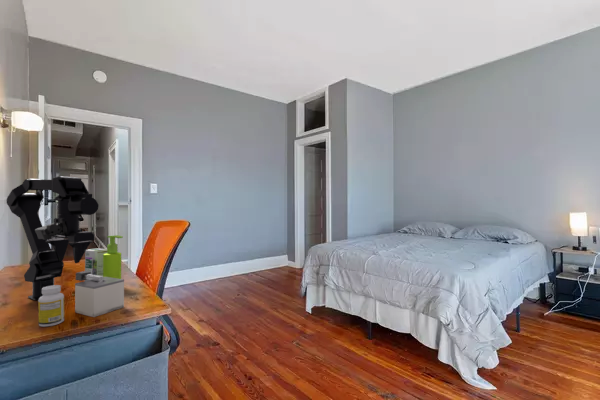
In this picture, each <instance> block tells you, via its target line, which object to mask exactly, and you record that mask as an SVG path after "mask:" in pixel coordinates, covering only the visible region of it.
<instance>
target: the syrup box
mask: <svg viewBox="0 0 600 400" xmlns="http://www.w3.org/2000/svg"><path fill="white" fill-rule="evenodd" d="M106 253H107V248H90V249H88V248H87V249H86V251H85V253H84V255H85V256H84V271H88V272H91V274H92V275H98V276H103V254H106ZM84 281H88V280H84Z"/></svg>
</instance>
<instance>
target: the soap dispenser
mask: <svg viewBox="0 0 600 400" xmlns="http://www.w3.org/2000/svg"><path fill="white" fill-rule="evenodd" d="M123 237H124V236H122V235H117V234H115V235H107V237H106V238H108V239H109V243H108V244H107V246H106V249H107V253H106V254H103V277H111V278H118V279H122V252H119V251H118V250H119V249H118V247H119V246H118V244H117V243H116V239H123Z"/></svg>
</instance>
